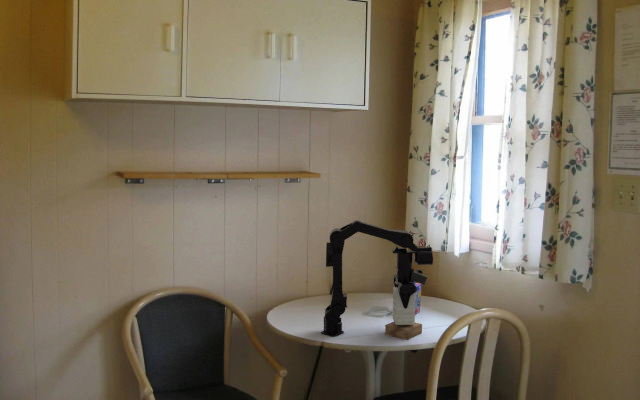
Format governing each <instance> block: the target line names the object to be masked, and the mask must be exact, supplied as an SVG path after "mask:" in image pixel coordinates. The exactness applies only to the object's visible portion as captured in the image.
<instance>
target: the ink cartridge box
mask: <svg viewBox="0 0 640 400" xmlns="http://www.w3.org/2000/svg"><path fill="white" fill-rule="evenodd" d="M409 283H411V282H409ZM413 284H414V285H415V286H416V287H417V292H416V293H415V316H416V315H417V314H418V313H420V312H421V306H422V305H421V301H422V284H421V283H418V282H416V281H414V283H413Z"/></svg>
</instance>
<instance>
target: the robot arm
mask: <svg viewBox="0 0 640 400" xmlns="http://www.w3.org/2000/svg"><path fill="white" fill-rule="evenodd" d="M357 233H361V234H364V235H369V236H373V237H376V238H380V239H383V240H386V241H388V242H390V243H393V244H394V245H395V247H394V248H393V249H392V250H391V252H392V254H396V266H395V269H396V273H395V274H393V276H392V283H393V286H394V288H395V287H398V292H399V295H400V298H401V301H402V304H403V307H404V309H407V307H408V303H409V300H410V296H411V295H412V294H414V293H416V292H417V287H416V286H415V285H414V284H413V283H414V281H416V282H415V283H419V284H421V286H422V285H423V286H425V285H426V283H427V280H428V278H429V277H428V276H427V275H426V274H424V273H423V269H419V268H417V269H416V270H414V269H415V268H413V263H416V265H417V266H433V265H434V256H433V255H434V254H433V247H431V246H425V247H424V246H417V244H416V243H414V237H413V236H412V234H411V232H409V231H408V230H403V229H401V230H400V229H389V228H385V227H381V226H378V225H374V224H371V223H367V222H363V221H361V220H359V219H355V220H354V221H352V222H351V223H348V224H346V225H344V226H342V227H340V228H337V227H336V228H334V229H332V230H331V231H330V233H329V244H330V248H331V253H332V293H331V299H330V301H329V303H330V304H329V305H328V306H327V307H326V308H324V316H323V330H322V331H320V333H321V334H322V333H323V335H326V334H327V335H326V336H329V335H330V337H336V336H339V335H343V334H345V331H344V330H343V322H342V317H341V316H342V315H343V314H344V313H345V312H346V309H347V308H348V302H347V301H348V293H347V292H344V290H343V251H344V247H345V242H346V240H348V239H350V238H351V237H352V236H354V235H355V234H357ZM399 247H400V248H399ZM407 249H409V250H407ZM410 282H411V283H410Z"/></svg>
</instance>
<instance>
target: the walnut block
mask: <svg viewBox="0 0 640 400" xmlns="http://www.w3.org/2000/svg"><path fill="white" fill-rule="evenodd" d="M384 327H385V328H384V329H385V330H384V331H385V332H384V334H385V336H389V337H393V338H398V339H401V340H402V339H403V340H406V341H409V340H411V339H413V338H415V337H417V336H420V335H421V334H423V324H422V323H419V322H415V325H396V324H395V322H394V321H392V322H390V323H387V324H384Z"/></svg>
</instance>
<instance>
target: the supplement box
mask: <svg viewBox="0 0 640 400" xmlns="http://www.w3.org/2000/svg"><path fill="white" fill-rule="evenodd" d="M392 293H393V294H392V320H393V322H395V324H396V325H415V323H416V321H415V319H416V315H415V293H414V294H412V295H411V296H410V300H409V303H408V307H407V309H404V307H403V304H402V301H401V298H400V295H399V292H398V287H395V286H394V287H392Z"/></svg>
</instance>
